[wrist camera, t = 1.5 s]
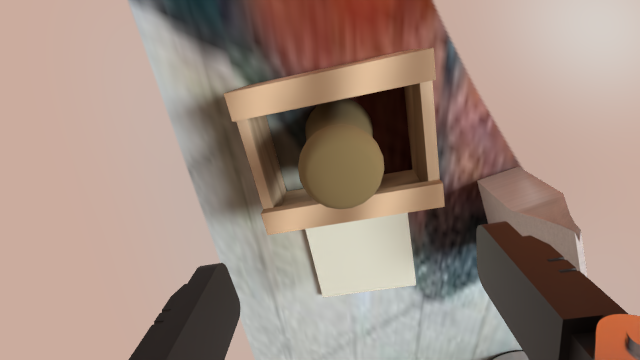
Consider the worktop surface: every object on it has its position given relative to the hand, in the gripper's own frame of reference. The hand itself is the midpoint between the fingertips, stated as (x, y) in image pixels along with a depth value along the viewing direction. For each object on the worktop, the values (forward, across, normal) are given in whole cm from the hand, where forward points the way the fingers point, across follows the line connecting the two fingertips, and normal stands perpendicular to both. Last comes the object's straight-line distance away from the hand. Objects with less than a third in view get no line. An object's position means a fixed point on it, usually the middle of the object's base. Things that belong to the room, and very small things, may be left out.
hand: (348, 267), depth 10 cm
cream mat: (+19, 0, +13) cm, 23 cm away
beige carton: (+19, -14, +10) cm, 26 cm away
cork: (+19, 0, 0) cm, 19 cm away
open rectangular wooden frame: (+19, 0, 0) cm, 19 cm away
